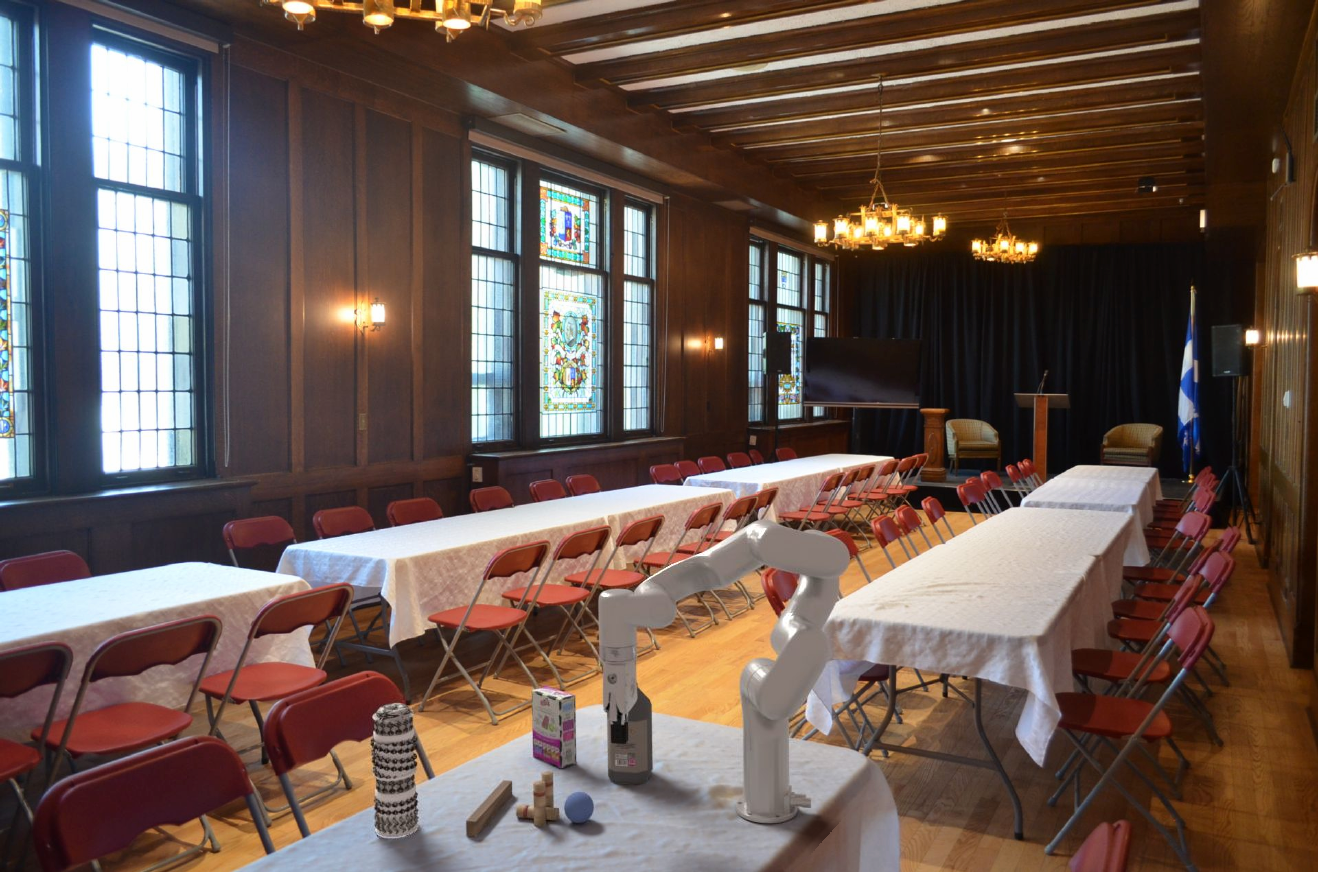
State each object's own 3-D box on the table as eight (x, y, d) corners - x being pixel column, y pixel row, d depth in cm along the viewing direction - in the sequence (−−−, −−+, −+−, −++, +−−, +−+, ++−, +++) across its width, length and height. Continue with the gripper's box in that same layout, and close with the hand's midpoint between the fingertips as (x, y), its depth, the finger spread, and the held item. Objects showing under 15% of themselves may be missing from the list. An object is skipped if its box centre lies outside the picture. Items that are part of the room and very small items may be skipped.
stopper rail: (512, 794, 212) (512, 780, 212) (475, 836, 193) (475, 821, 193) (503, 793, 213) (503, 779, 213) (466, 835, 193) (466, 820, 193)
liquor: (646, 785, 216) (643, 652, 214) (605, 783, 217) (603, 650, 216) (654, 769, 225) (652, 641, 223) (615, 767, 226) (613, 639, 225)
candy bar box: (578, 763, 229) (576, 694, 228) (561, 769, 225) (559, 699, 224) (548, 751, 237) (547, 684, 236) (531, 756, 233) (530, 689, 232)
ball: (564, 793, 202) (577, 819, 202) (555, 805, 196) (568, 832, 196) (588, 782, 201) (602, 808, 201) (580, 794, 195) (594, 821, 195)
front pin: (559, 805, 200) (519, 802, 202) (555, 811, 198) (515, 808, 200) (559, 816, 201) (520, 813, 203) (556, 822, 198) (516, 819, 200)
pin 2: (555, 811, 204) (554, 771, 203) (551, 816, 201) (550, 775, 201) (544, 810, 204) (543, 770, 204) (540, 815, 202) (539, 775, 201)
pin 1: (547, 821, 199) (546, 780, 198) (543, 827, 196) (542, 785, 196) (536, 820, 199) (535, 779, 199) (532, 826, 197) (531, 784, 196)
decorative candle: (373, 842, 191) (369, 717, 189) (373, 822, 200) (369, 702, 198) (421, 836, 193) (417, 712, 192) (419, 816, 202) (415, 697, 201)
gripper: (627, 663, 187) (628, 757, 188) (645, 642, 201) (646, 730, 202) (589, 661, 188) (591, 754, 189) (609, 641, 203) (611, 727, 204)
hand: (619, 741), depth 196 cm, fingers closed
